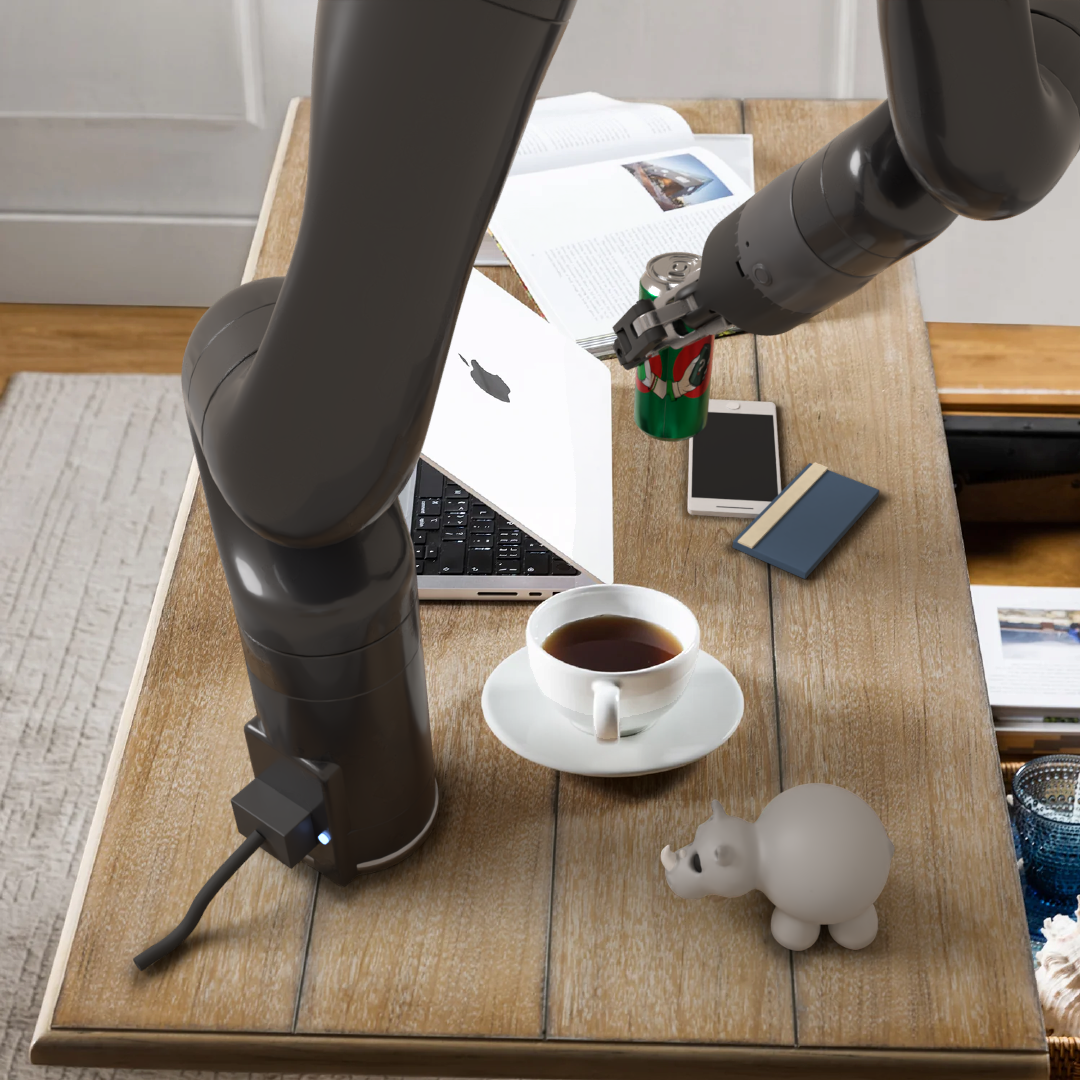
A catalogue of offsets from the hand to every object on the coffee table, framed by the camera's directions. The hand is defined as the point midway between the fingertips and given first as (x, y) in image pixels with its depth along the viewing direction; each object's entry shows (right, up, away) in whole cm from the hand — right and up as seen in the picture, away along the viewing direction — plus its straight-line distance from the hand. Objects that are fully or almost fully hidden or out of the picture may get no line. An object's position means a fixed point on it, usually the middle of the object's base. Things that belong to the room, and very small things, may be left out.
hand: (657, 342), depth 86 cm
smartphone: (+8, -7, +17) cm, 20 cm away
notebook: (+12, -12, +10) cm, 20 cm away
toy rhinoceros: (+4, -34, -15) cm, 37 cm away
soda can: (+1, -5, +3) cm, 6 cm away
